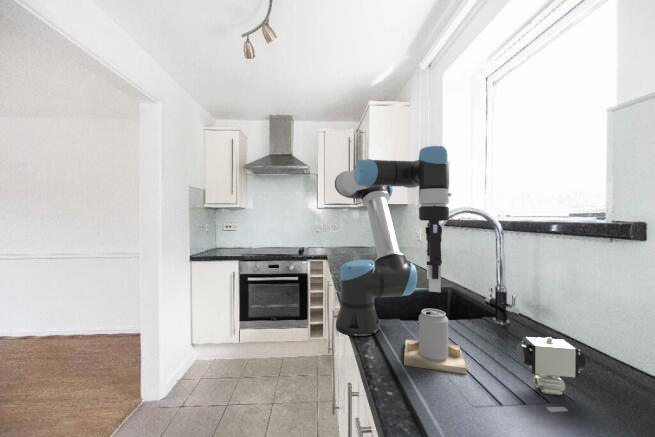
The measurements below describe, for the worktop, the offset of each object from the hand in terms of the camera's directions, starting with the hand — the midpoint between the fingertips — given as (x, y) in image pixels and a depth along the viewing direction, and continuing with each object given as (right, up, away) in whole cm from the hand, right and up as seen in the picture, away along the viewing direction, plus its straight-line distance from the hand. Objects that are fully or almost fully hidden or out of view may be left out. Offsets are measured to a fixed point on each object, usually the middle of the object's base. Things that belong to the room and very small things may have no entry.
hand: (433, 284), depth 78 cm
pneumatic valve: (+21, -21, -12) cm, 32 cm away
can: (0, -19, 0) cm, 19 cm away
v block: (+1, -21, +3) cm, 21 cm away
